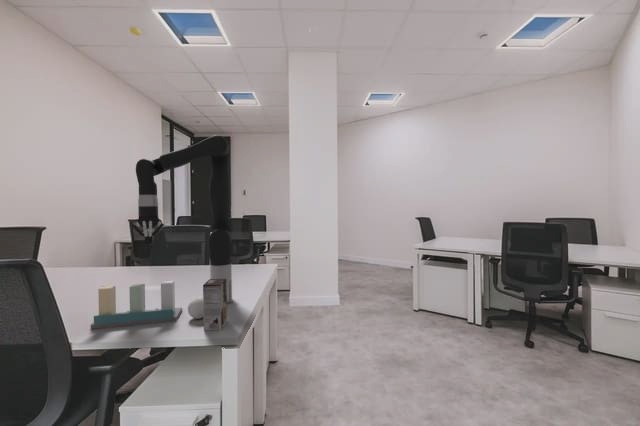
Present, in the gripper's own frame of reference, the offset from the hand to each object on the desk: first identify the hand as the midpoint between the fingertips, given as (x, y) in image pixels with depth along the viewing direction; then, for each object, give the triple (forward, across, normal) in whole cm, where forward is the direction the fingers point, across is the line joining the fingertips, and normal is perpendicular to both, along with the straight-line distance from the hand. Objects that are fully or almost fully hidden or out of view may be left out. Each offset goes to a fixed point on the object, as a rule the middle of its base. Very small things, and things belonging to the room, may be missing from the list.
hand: (149, 245), depth 134 cm
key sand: (+25, -9, -20) cm, 33 cm away
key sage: (+25, +1, -20) cm, 32 cm away
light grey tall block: (+25, +11, -17) cm, 32 cm away
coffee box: (+27, +30, -32) cm, 52 cm away
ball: (+27, +23, -22) cm, 42 cm away
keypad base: (+27, +1, -17) cm, 32 cm away
